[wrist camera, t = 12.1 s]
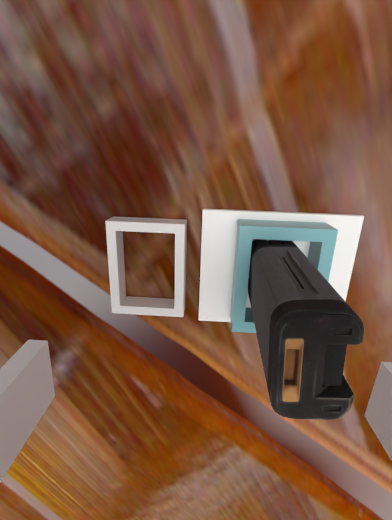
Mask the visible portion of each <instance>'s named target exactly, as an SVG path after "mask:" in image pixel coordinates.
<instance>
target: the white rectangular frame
mask: <svg viewBox="0 0 392 520" xmlns="http://www.w3.org/2000/svg"><path fill="white" fill-rule="evenodd" d="M105 223H106V237H107V251H108V265H109V280H110V294H111V307H112V313H120V314H136V315H154V316H172V317H183V315H184V310H185V292H186V244H187V220H185V219H161V218H137V217H114V216H113V217H111V218H110V219H108V220H106V221H105ZM123 231H131V232H153V233H175V299H169V298H151V297H132V296H126V284H125V264H124V245H123Z"/></svg>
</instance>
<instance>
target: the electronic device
mask: <svg viewBox="0 0 392 520" xmlns="http://www.w3.org/2000/svg"><path fill="white" fill-rule="evenodd" d="M248 295H249V300H250V304H251V309H252V314H253V319H254V324H255V328H256V333H257V338H258V343H259V348H260V353H261V358H262V362H263V367H264V372H265V377H266V382H267V387H268V391H269V396H270V401H271V405H272V408H273V409H274V411H275V412H276V413H278V414H279V415H281V416H283V417H287V418H295V419H336V418H339V417H342V416H343V415H344V414H345V413H346V412H348V410H349V409H350V407H351V405H352V402H353V398H354V394H353V392H352V390H351V388H350V387H349V385H348V383H347V381H346V380H345V378H344V376H343V369H344V361H345V354H346V347H347V344H360V343H361V342H362V340H363V332H364V328H363V323H362V321H361V319H360V318H359V317H358V315H357V314H356V313H355V312H354V311H353V310H352V309H351V308H350V306H349V305H348V304H347V303H346V302H345V301H344V299H343V298H342V297H341V296H340V295H339V294H338V293H337V291H336V290H335V289H334V288H333V287H332V286H331V285H330V283H329V282H328V281H327V280H326V279H325V278H324V277H323V275H322V274H321V273H320V272H319V271H318V270H317V268H316V267H315V266H314V265H313V264H312V263H311V262H310V260H309V259H308V258H307V257H306V256H305V255H304V254H303V252H302V251H301V250H300V249H299V248H298V247H297V246H296V244H295V243H294V242H293V241H286V240H264V239H255V240H253V241H252V247H251V257H250V268H249V278H248Z"/></svg>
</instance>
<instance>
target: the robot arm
mask: <svg viewBox="0 0 392 520" xmlns="http://www.w3.org/2000/svg"><path fill="white" fill-rule="evenodd" d="M54 397H55V391H54V384H53V376H52V369H51V362H50V354H49V347H48V341H43V340H28V341H27V342H26V343H25V344H24V345H23V346H22V347H21V348H20V349H19V350H18V351H17V352H16V353H15V354H14V355H13V356H12V357H11V358H10V359H9V360H8V361H7V362H6V363H5V364H4V365H3V366H2V367H1V368H0V482H1V481H2V479H3V477H4V476H5V474H6V473H7V471H8V470H9V468H10V466H11V465H12V463H13V462H14V460H15V459H16V457H17V455H18V454H19V452H20V451H21V449H22V447H23V446H24V444H25V443H26V441H27V440H28V438H29V436H30V435H31V433H32V432H33V430H34V428H35V427H36V425H37V424H38V422H39V421H40V419H41V417H42V416H43V414H44V413H45V411H46V409H47V408H48V406H49V405H50V403H51V402H52V400H53V398H54ZM365 418H366V419H367V421H368V423H369V424H370V426H371V428H372V429H373V431H374V433H375V434H376V436H377V437H378V439H379V441H380V442H381V444H382V446H383V447H384V449H385V451H386V452H387V454H388V455H389V457H390V459H391V460H392V362H381V365H380V368H379V371H378V374H377V377H376V381H375V384H374V387H373V390H372V393H371V397H370V400H369V403H368V406H367V409H366V413H365Z"/></svg>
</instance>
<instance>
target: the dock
mask: <svg viewBox="0 0 392 520" xmlns="http://www.w3.org/2000/svg"><path fill="white" fill-rule="evenodd" d="M363 218H364V216H362V215H354V214H329V213H304V212H279V211H254V210H229V209H204V208H203V214H202V241H201V267H200V293H199V320H200V321H218V322H231V329H232V332H248V333H256V328H255V324H254V319H253V314H252V309H251V304H250V300H249V295H248V278H249V268H250V257H251V247H252V241H253V240H255V239H264V240H286V241H293V242H294V243H295V244H296V246H297V247H298V248H299V249H300V250H301V251H302V252H303V254H304V255H305V256H306V257H307V258H308V259H309V260H310V262H311V263H312V264H313V265H314V266H315V267H316V268H317V270H318V271H319V272H320V273H321V274H322V275H323V277H324V278H325V279H326V280H327V281H328V282H329V283H330V285H331V286H332V287H333V288H334V289H335V290H336V291H337V293H338V294H339V295H340V296H341V297H342V298H343V299H344V301H346V296H347V292H348V287H349V283H350V278H351V273H352V269H353V264H354V260H355V255H356V251H357V246H358V241H359V237H360V232H361V228H362V223H363Z"/></svg>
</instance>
